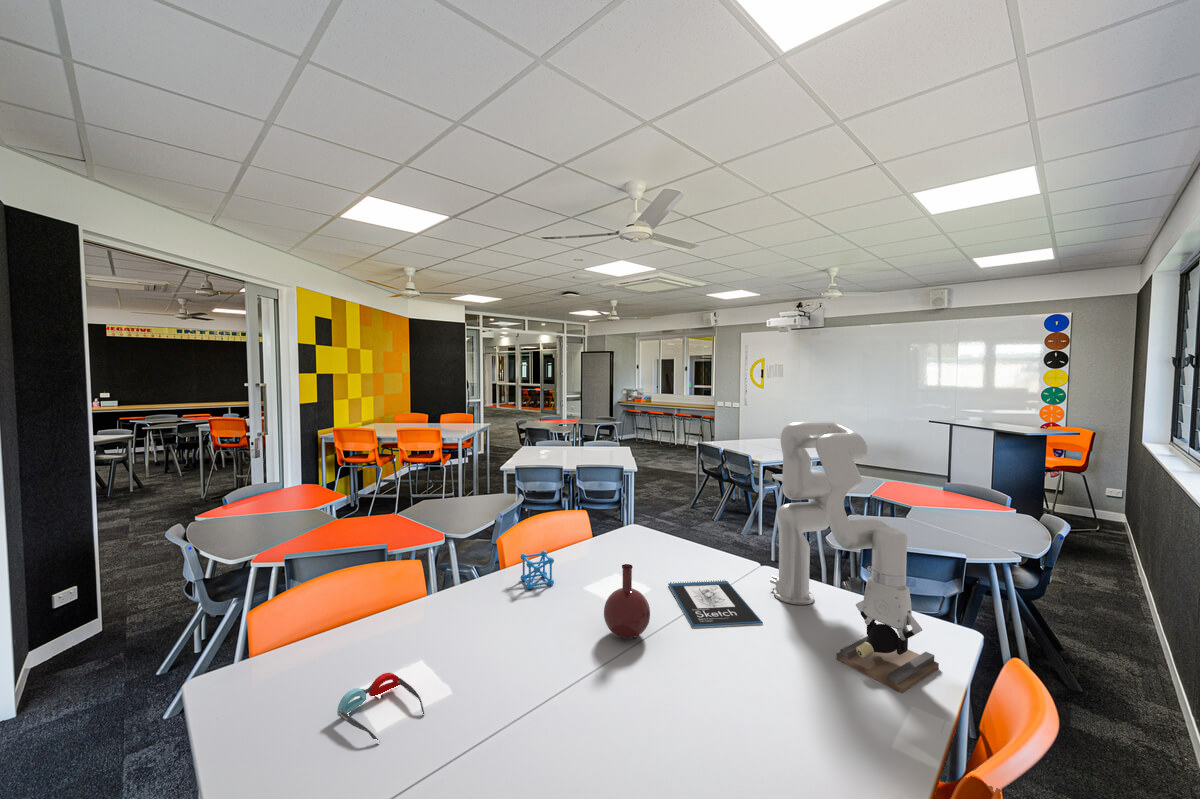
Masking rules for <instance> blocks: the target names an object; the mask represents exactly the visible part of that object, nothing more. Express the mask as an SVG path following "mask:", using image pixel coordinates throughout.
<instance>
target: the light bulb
mask: <svg viewBox="0 0 1200 799" xmlns="http://www.w3.org/2000/svg"><path fill="white" fill-rule="evenodd" d="M867 636H868V637H867ZM867 636H866V637H867V640H866V642H864V643H863V644H861V645H860V646H857V647H856V651H857V653H858V654H859V656H860V657H862V658H864V657H866V656H868V655H870V654H872V653H873V652H878V653H891V652H894V651H896V650H897V639H898V638H900V637H899V634H898V632H897V630H896V629H895V628H893V627H890V626H888V625H886V624H883V623H877V625H875V626H873V627H872V628H871V629H870V631H869V634H868V635H867Z"/></svg>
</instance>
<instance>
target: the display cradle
mask: <svg viewBox="0 0 1200 799" xmlns="http://www.w3.org/2000/svg"><path fill="white" fill-rule="evenodd" d="M867 637H868V635H866V636H864V637H863V638H861V639H859V640H857V641H855V642H853V643H851V644H849V645H847V646H845V647H842V648H841V649H839V650H840V651H838V652H837V653H836V656H835V658H836V660H837V661H839V662H841V663H842V664H845V665H847V666H849V667H851V668H853V669H855V670H856V671H858V672H861V673H862V674H864V675H866V676H868V677H870V678H872V679H874V680H876V681H878V682H880V683H882V684H884V685H885V686H887V687H889V688H891V689H893V690H895V691H897V692H899V693H904V692H905V691H907V690H909V689H910V688H912V687H913V686H914V685H916V684H918V683H919V682H921V681H922V680H924V679H925V678H927V677H928V676H930V675H931V674H933V673H934V672H936V671H937V670H939V668H940V667H939V665H940V664H939V662H937V661H935V654H932V653H930V652H928V651H924V652H923V653H921V654H919V653H917V652H915V651H912V650H910V649H908V650H907V651H906V652H905V653H903V654H901V655H899V654H897V650H896V651H894V652H891V653H878V652H873V653H872V654H870V655H868V656H866V657H864V658H862V657H860V656H859V654H858V653H857V651H856V647H857V646H860V645H861V644H863V643H864V642H866V640H867Z"/></svg>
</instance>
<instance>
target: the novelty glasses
mask: <svg viewBox="0 0 1200 799" xmlns="http://www.w3.org/2000/svg"><path fill="white" fill-rule="evenodd" d="M387 681H391V682H388V683H385V682H387ZM384 683H385V684H384ZM398 685H400V686H401V687H403V688H404V689H405V690H406V691H407V692H409V693H410V694H411V695H412V696H413V697H415V698H416V699H417V700H419V703H420V707H421V713H422V712H423V713H422V715H423V714H424V715H425V711H424V706H423V702H422V699H421V696H420V695H419V693H418V692H417V691H416V690H415V688H414V687H412V685H410V684H409V683H407V682H406V681H404V679H402V678H401V677H399V676H398V675H396V674H395V673H392V672H384V673H382V674H380V675H378V677H376V678H375V679H374V680H373V682H372V683H371V685H370V686H369V687H368V688H366V689H364V688H359V687H357V688H356V687H355V688H352V689H350V690H348V691H347V692H346V693H345V694H344V695H343V696H342V697H341V699H340V701H339V703H338V705H337V706H338V707H337V711H336V713H337V716H338V717H339V716H340V717H342V719H343V720H344V721H345V722H347V723H348V724H350V725H351V726H353V727H355V728H358V730H362V731H365V732H367V733H368V734H369V736H370V737H371V739H372V740H373V739H377V740H379V739H378V737H377V736H376V735H375V734H373V732H372V731H371V730H369V728H367V727H366V726H365V725H363V724H361V723H360V722H359V721H358V720H356V719H355V718H353V717H352V716H351V715H349V716H348V714H347V713H348V712H350V711H351V712H352V710H353V709H354V710H356V709H357V708H356V707H358V706H359V705H361V704H362V703H363V702H364V701H365V700H366V701H367V694H368V695H369V696H370V697H371V696H375V695H378V694H381V693H383V692H385V691H387V690H389V689H391V688H394V687H396V686H398ZM356 697H358V698H356ZM366 701H365V702H366ZM361 706H362V705H361ZM355 708H356V709H355ZM358 708H359V707H358ZM354 710H353V711H354ZM340 717H339V718H340Z"/></svg>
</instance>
